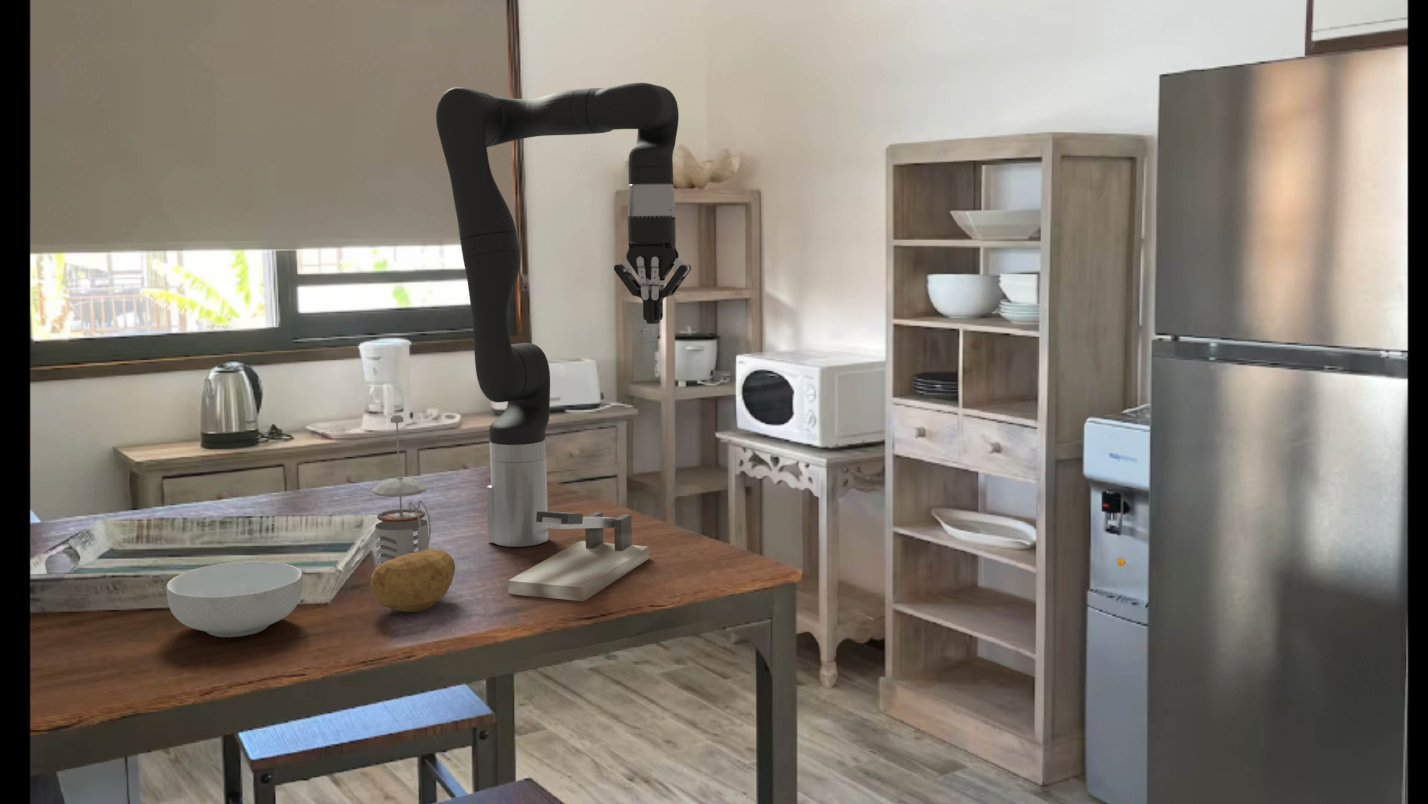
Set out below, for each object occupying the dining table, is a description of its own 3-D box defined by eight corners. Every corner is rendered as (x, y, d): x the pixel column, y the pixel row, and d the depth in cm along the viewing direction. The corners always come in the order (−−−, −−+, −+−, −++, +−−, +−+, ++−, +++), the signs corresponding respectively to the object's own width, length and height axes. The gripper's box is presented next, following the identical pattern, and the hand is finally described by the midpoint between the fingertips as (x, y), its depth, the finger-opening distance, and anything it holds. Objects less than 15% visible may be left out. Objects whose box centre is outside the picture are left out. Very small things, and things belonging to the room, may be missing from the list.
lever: (535, 526, 185) (536, 511, 186) (595, 525, 205) (596, 511, 205) (566, 529, 184) (568, 513, 184) (624, 527, 203) (625, 513, 203)
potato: (476, 599, 183) (474, 544, 182) (410, 627, 171) (408, 569, 170) (422, 590, 188) (420, 537, 187) (354, 617, 175) (352, 560, 174)
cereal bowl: (170, 656, 161) (166, 601, 160) (168, 619, 176) (164, 569, 175) (312, 637, 167) (308, 584, 166) (298, 603, 182) (295, 554, 181)
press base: (508, 593, 186) (507, 546, 185) (580, 552, 208) (579, 510, 207) (583, 601, 182) (582, 553, 181) (648, 558, 204) (648, 515, 203)
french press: (414, 564, 202) (407, 407, 199) (456, 578, 194) (449, 415, 191) (358, 576, 196) (350, 414, 192) (398, 591, 187) (391, 423, 184)
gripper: (603, 214, 201) (605, 324, 203) (682, 213, 197) (683, 326, 199) (622, 214, 208) (624, 321, 210) (699, 213, 204) (700, 322, 206)
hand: (653, 323), depth 205 cm, fingers closed
